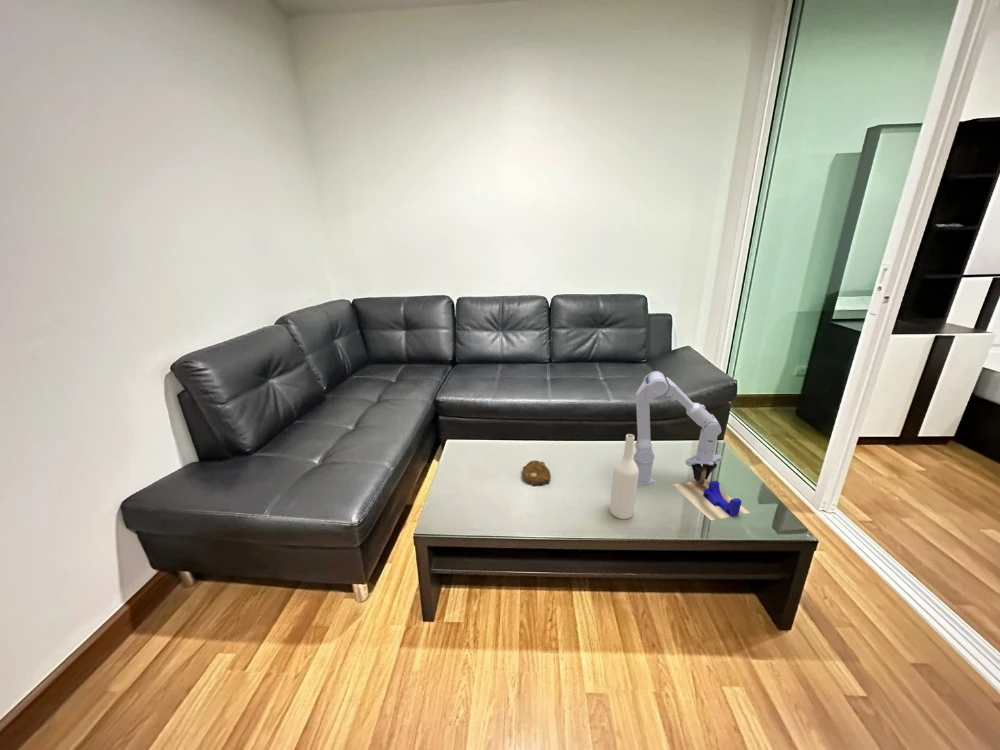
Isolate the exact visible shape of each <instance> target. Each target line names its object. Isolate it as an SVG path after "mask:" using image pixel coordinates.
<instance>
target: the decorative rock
mask: <svg viewBox="0 0 1000 750" xmlns="http://www.w3.org/2000/svg"><path fill="white" fill-rule="evenodd" d="M549 469H550V468H548V467H547V466H546V463H545V461H539V460H531V461H529V462H527V464H526V465H524V466H523V467H522V478H524V479H525V482H526V483H528V484H530V485H532V487H536V486H537V485H538V486H540V485H545V482H547V481H548V482H551V479H552V477H551V471H550V470H549Z"/></svg>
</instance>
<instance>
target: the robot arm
mask: <svg viewBox="0 0 1000 750" xmlns="http://www.w3.org/2000/svg"><path fill="white" fill-rule="evenodd" d="M663 395H664V396H665V397H672V398H673V399H675V400H676V401H677V402H678V403H679V404H680V405H681V406H683V407H684V409H685V410H686V411H685V413H686V415H687V416H688V417H689V418H690V419H691V420H693V422H694V423H696V425H697V426H699V427H701V429H700V433H699V439H698V444H697V449H696V454H695V455H693V456H691V457H690V458H686V460H685V465H686V466H688V467H691V469H692V474H693V479H694V481H696V480H697V481H699V480H700V477H701V473H702V471H703V470H704V469H705V468H706V469H707V472H706V477H705V480H707V479H708V478H709V477H710V475H711V474H712V472H713V471H714V470H715V469H716V468H717V466H718V464H717V463H715V462H717V461H718V462H722V461H723V456H722V455H721V454H719V453H718V454H715V450H716V447H717V442H718V436H719V435H720V434H721V433H722V431H723V430H722V427H721V425H720V423H719V421H718V419H717V418H716V417H715V415H714V414H713V413H710V412H709V411H708V410H707V409H706V406H705V405H704V404H701V403H700V402H693V401H692V400H691V399H690V398H689V397H688V396H687V395H686V394H685V393H684V392H683V390H682V389H680V387H679V386H677V385H676V383H675V382H673V380H671V379H670V378H669V377H667V376H666V377H665V375H664V373H663V372H661V371H658V370H655V371H652V372H650V373H649V374H647V375H646V376H644V378H643V381H642V383H641V384H640V386H639V388H638V389H637V391H636V392H635V400H636V402H635V403H636V404H635V405H636V406H635V407H636V428H637V429H636V430H637V439H636V441H635V443H634V447H635V448H634V449H635V452H634V453H635V454H633V456H632V457H633V460H634V461H635V463H636V465H637V467H638V469H639V475H638V483H637V486H639V485H640V486H641V485H647V484H653V483H655V482H656V480H655V479H654V478H653V477H652V470H653V464H654V460H655V454H654V451H653V446H652V441H651V438H652V437H651V416H650V415H651V412H650V407H651V406H650V402H651V401H652V400H653V399H655V398H658V397H661V396H663ZM704 467H705V468H704Z"/></svg>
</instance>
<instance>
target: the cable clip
mask: <svg viewBox="0 0 1000 750" xmlns="http://www.w3.org/2000/svg"><path fill="white" fill-rule="evenodd" d="M720 490H721V489H720V482H719V481H718V480H713V481H710V482H709V487H708V489H704V494H703V496H704V497H705V498H706V499H707V500H708V501H709V502H711V503H712V504H713V505H714V506H719V507H720V508H722V509H723V510H724V511H725V512H726V513H727V514H728V515H729V516H732V517H737V516H739V515H738V514H739V510H740V506H742V502H743V501H742V500H741V499H740V498H738V497H737V498H732V499H731V501H730V502H729V503H728V502H727V501H726V500H725V499H724V498H723V497H722V495H721V492H720Z"/></svg>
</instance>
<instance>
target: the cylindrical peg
mask: <svg viewBox="0 0 1000 750" xmlns="http://www.w3.org/2000/svg"><path fill="white" fill-rule="evenodd" d="M704 468H705V467H704ZM706 472H707V469H706V468H705V469H704V470H703V471H702V473H701V477H700V480H699V481H697V480H695V481H696V483H698V484H704V482H705V477H706Z"/></svg>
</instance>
